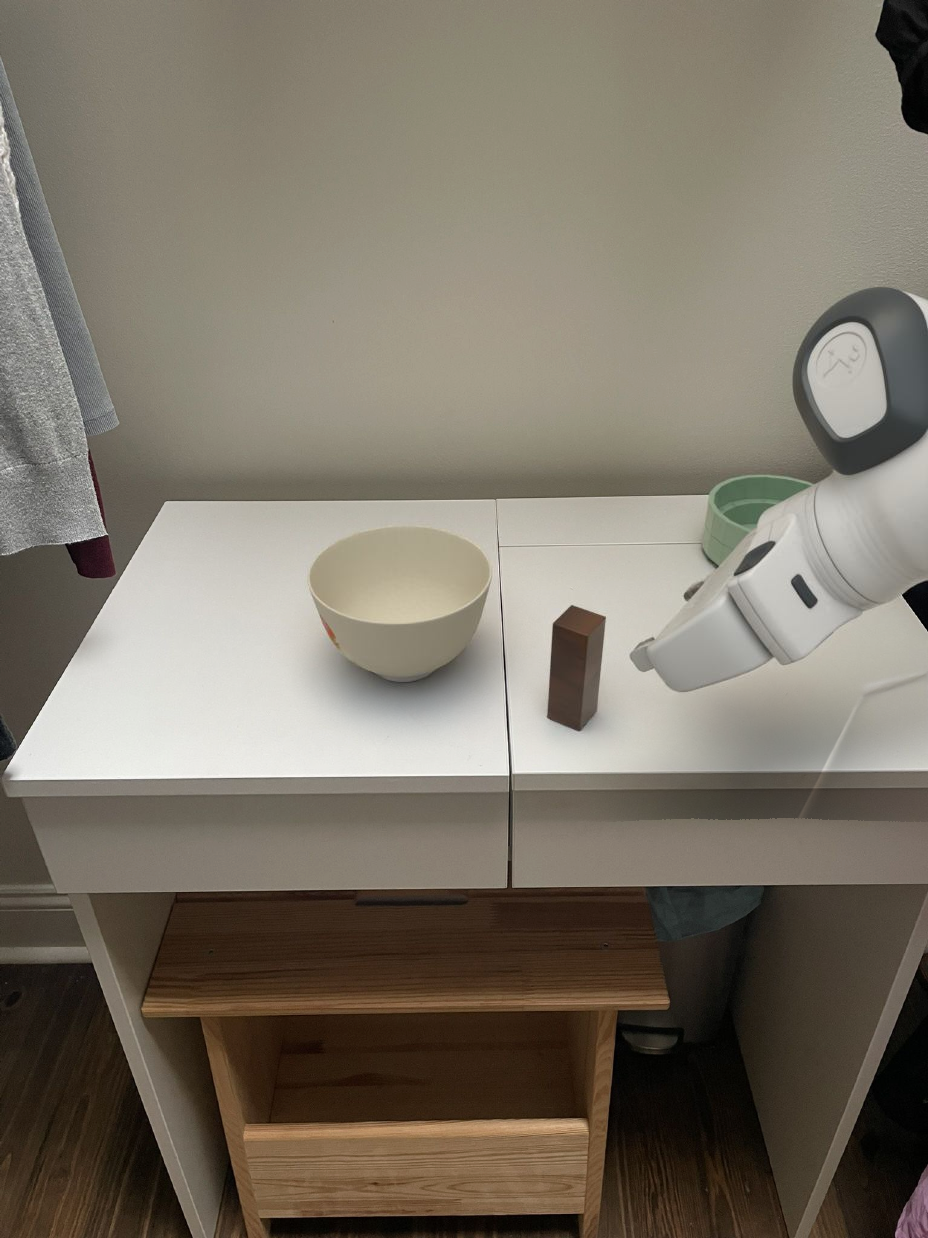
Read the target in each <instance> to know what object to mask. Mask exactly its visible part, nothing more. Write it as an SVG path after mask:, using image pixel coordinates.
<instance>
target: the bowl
mask: <svg viewBox="0 0 928 1238" xmlns="http://www.w3.org/2000/svg"><path fill="white" fill-rule="evenodd" d="M307 571H308V572H307V576H306V577H307V580H306V581H307V586H308V589H309V592H310V596H311V598H312V601H313V603H314V605H315V608H316V610H317V612H318V615H319V617H320V621H321V623H322V625H323V628H324V629H325V632H326V633H327V635H328V637H329V639H330V640H331V642H332V644H333V645H334V646H335V647H336V648H337V650H338V651H339V652H340V653H341V654H342V655H343V656H344V657H346V658H347V659H348V660H349V661H351V662H352V663H353V664H356V665H357V666H358V667H361V668H362V669H364V670H366V671H369V672H372V673H374V674H376V675H377V676H379V677H381V679H384V680H386V681H390V682H395V683H410V682H415V681H419V680H422V679H424V678H427V677H428V676H430V675H431V674H433V672H434V671H435V670H437V669H440V668H442V667H443V666H445V665H447V664H448V663H449V662H451V661H452V660H454V659H455V658H456V657H458V656H459V655H460V654H461V653H462V651H464V649H465V648H466V647H467V646H468V644H469V643H470V642H471V641H472V638H473V637H474V635H475V633H476V631H477V629H478V626H479V624H480V621H481V618H482V615H483V612H484V608H485V605H486V601H487V597H488V595H489V590H490V587H491V583H492V579H493V567H492V563H491V561H490V559H489V557H488V555H487V554H486V552H485V551H484V550H483V549H482V548H481V547H480V546H479V545H477V544H476V543H475V542H474V541H472V540H470V539H468V538H467V537H464V536H462V535H460V534H457V533H455V532H452V531H449V530H445V529H441V528H437V527H432V526H424V525H406V524H405V525H403V524H402V525H387V526H380V527H374V528H369V529H366V530H361V531H357V532H355V533H351V534H349V535H347V536H344V537H342V538H340V539H338V540H336V541H334V542H332V543H331V544H329V545H327V546H326V547H325V548H324V549H322V550H321V551H320V552H319V553H318V554H317V555H316V557H314V558H313V561H312V562H311V563H310V566H309V568H308V570H307Z"/></svg>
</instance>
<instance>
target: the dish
mask: <svg viewBox="0 0 928 1238" xmlns="http://www.w3.org/2000/svg"><path fill="white" fill-rule="evenodd" d="M814 484H815V483H812V482H810V481H806V480H803V479H799V478H794V477H790V476H785V475H784V476H783V475H776V474H775V475H774V474H747V475H746V474H745V475H741V476H735V477H730V478H728V479H726V480H723V481H721V482H719V483H718V484H716V485H715V486H714V487H713V488H712V489H711V490H710V492H708V500H707V505H706V512H705V518H704V524H703V529H702V535H701V548H702V549H703V551H704V553H705V555H706V556H707V558H708V559H710V560H711V561H712V562H714V564H716V566H718V567H719V566H720V565H721V564H722V563H723V561H724V560H725V559H726V558H727V557H728V556H729V555H730V553H731V552H732V551H733V550H734V549H735V548H736V547H737V546H738V544H739V543H740V542H741V541H742V540H743V539H744V538H745V536H746V535H747V534H748V533H750V532H751V531H752V530H753V529H755V528H756V527H757V523H758V520H759V518H760V516H761V515H762V514H763V512H765V511H766V510H767V509H769V508H771V507H772V506H774V505H776V504H778V503H780V502H782V501H784V500H786V499H787V498H789V497H791V496H793V495H795V494H797V493H799V492H801V491H803V490H805V489H806V488H808V487H810V486H812V485H814Z"/></svg>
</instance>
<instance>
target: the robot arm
mask: <svg viewBox="0 0 928 1238" xmlns="http://www.w3.org/2000/svg"><path fill="white" fill-rule="evenodd" d="M791 378H792V380H791V381H792V383H791V384H792V385H791V386H792V395H793V399H794V402H795V406H796V408H797V410H798V412H799V415H800V417H801V419H802V421H803V423H804V425H805V428H806V429H807V431H808V433H809V435H810V436H811V439H812V440H813V442H814V444H815V446H816V447H817V449H818V451H819V452H820V454H821V455H822V457H823V458H824V460H825V462H826V463H827V464H828V465H829V466H830V467H831V468H832V472H831V473H830V475H829V476H826V477H824V478H823V479H822V480H820V481H818V482H816V483H813V484H814V485H812V486H810V487H808V488H806V489H805V490H803V491H801V492H799V493H797V494H795V495H793V496H791V497H789V498H787V499H786V500H784V501H782V502H780V503H778V504H776V505H774V506H772V507H771V508H769V509H767V510H766V511H765V512H763V514H762V515H761V516H760V518H759V520H758V523H757V527H756V528H755V529H753V530H752V531H751V532H750V533H748V534H747V535H746V536H745V538H744V539H743V540H742V541H741V542H740V543H739V544H738V546H737V547H736V548H735V549H734V550H733V551H732V552H731V553H730V555H729V556H728V557H727V558H726V559H725V560H724V561H723V563H722V564H721V565H720V566H718V567H717V568H716V569H714V570H713V571H712V572H710V573H709V574H708V575H706V576H705V577H703V578H702V579H699V580H697V581H696V582H694V583H692V584H691V585H690V586H689V587H688V588H687V590H686V591H684V593H683V595H682V596H683V599H684V600H685V602H686V603H685V604H684V605H683V607H682V608H681V609H680V610H679V611H678V612H677V613H676V614H675V616H674V617H673V618H672V619H671V620H670V622H668V623H667V625H665V627H664V628H663V629H662V631H660V632H659V634H658V635H657V636H656V637H655V636H652V637H649V638H647V639H645V640H643V641H640V642H639V643H638V644H637V645H636V646H635V648H633V650H631V651H630V653H629V659H630V660H631V662H632V663H633V664H634V666H635V667H636V669H637V670H638V671H640V672H642V673H646V672H648V671H652V670H653V669H654V671H655V672H656V674H657V675H658V677H659V678H660V679H661V680H662V682H663V683H664V684H665V686H666V687H667V688H668V689H670V690H671V691H674V692H677V693H690V692H693V691H698V690H700V689H703V688H706V687H710V686H712V685H716V684H719V683H721V682H722V683H723V682H726V681H728V680H731V679H735V678H737V677H740V676H742V675H746V674H747V673H750V672H752V671H754V670H756V669H758V668H760V667H762V666H764V665H766V664H767V663H768V662H771V660H772V659H775V660H776V661H777V662H778V663H779V665H781V666H788V665H792V664H793V663H796V662H799V661H801V660H803V659H805V658H806V657H808V656H809V655H810V654H812V652H814V651H815V650H816V649H817V648H818V647H820V645H821V644H823V643H824V642H825V641H827V639H828V638H829V637H831V635H833V634H834V633H835V631H837V630H839V628H841V627H842V626H844V625H845V624H848V623H850V622H851V621H853V620H855V619H858V618H859V617H860V616H862V615H863V613H864V612H867V611H870V610H872V609H874V608H877V607H880V606H882V605H884V604H887V603H891V602H892V601H894V600H896V599H897V598H899V597H900V596H902V595H903V594H905V593H906V592H907V591H908V590H909V589H911V588H913V587H915V586H916V585H918V584H920V583H923V582H926V581H928V299H927V298H924V297H921V296H918V295H916V294H913V293H910V292H907V291H904V290H900V289H897V288H893V287H888V286H873V287H868V288H864V289H860V290H857V291H855V292H853V293H851V294H848V295H846V296H845V297H843V298H841V299H840V300H838V301H836V302H835V303H834V304H833V305H832V306H830V307H828V309H827V310H825V311H824V312H823V313H822V314H821V315H820V317H818V318H817V319H816V321H815V322H814V323H813V324H812V325H811V327H810V329H809V330H808V331H807V333H806V335H805V336H804V338H803V340H802V342H801V344H800V346H799V348H798V350H797V354H796V356H795V360H794V363H793V369H792V377H791Z"/></svg>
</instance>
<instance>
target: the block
mask: <svg viewBox="0 0 928 1238" xmlns="http://www.w3.org/2000/svg"><path fill="white" fill-rule="evenodd" d="M606 620H607V617H606V616H605V615H602V614H599V613H596V612H593V611H592V610H591V611H590V610H588V609H584V608H582V607H579V606H576V605H573V604H571V605H569V607H567V609H566V610H565V611H563V612H562V614H561V615H559V616H558V617H557V619H555V621H553V622H552V630H551V646H550V663H549V664H550V665H549V678H548V679H549V680H548V695H547V716H546V718H547V719H549V720H551V721H554V722H555V723H556V722H557V723H559V724H561V725H563V726H566V727H568V728H571V729H573V730H576V731H578V732H581V730H582V729H583V728H584V727H585V726H586V725H587V724H588V722H589V721H590V719H591V718H592V717H594V715H595V714H596V713H597V711H598V704H599V703H598V702H599V693H600V683H601V671H602V661H603V651H604V643H605V642H604V641H605V632H606V622H607V621H606Z"/></svg>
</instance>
